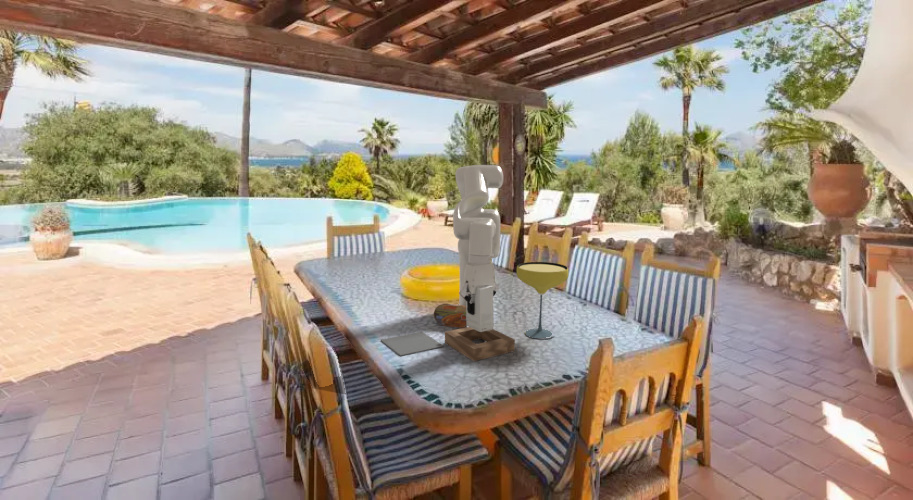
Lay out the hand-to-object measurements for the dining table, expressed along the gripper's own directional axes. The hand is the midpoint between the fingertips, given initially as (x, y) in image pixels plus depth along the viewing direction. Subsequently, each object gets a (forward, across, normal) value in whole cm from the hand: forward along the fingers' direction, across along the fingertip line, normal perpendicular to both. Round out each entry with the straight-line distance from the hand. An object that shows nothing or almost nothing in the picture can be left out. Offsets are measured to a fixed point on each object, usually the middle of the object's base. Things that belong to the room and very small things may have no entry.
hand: (479, 311), depth 158 cm
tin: (+13, -4, -22) cm, 26 cm away
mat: (+12, +18, -13) cm, 26 cm away
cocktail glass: (+13, -26, +2) cm, 29 cm away
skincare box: (+6, 0, 0) cm, 6 cm away
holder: (+12, 0, +1) cm, 12 cm away
